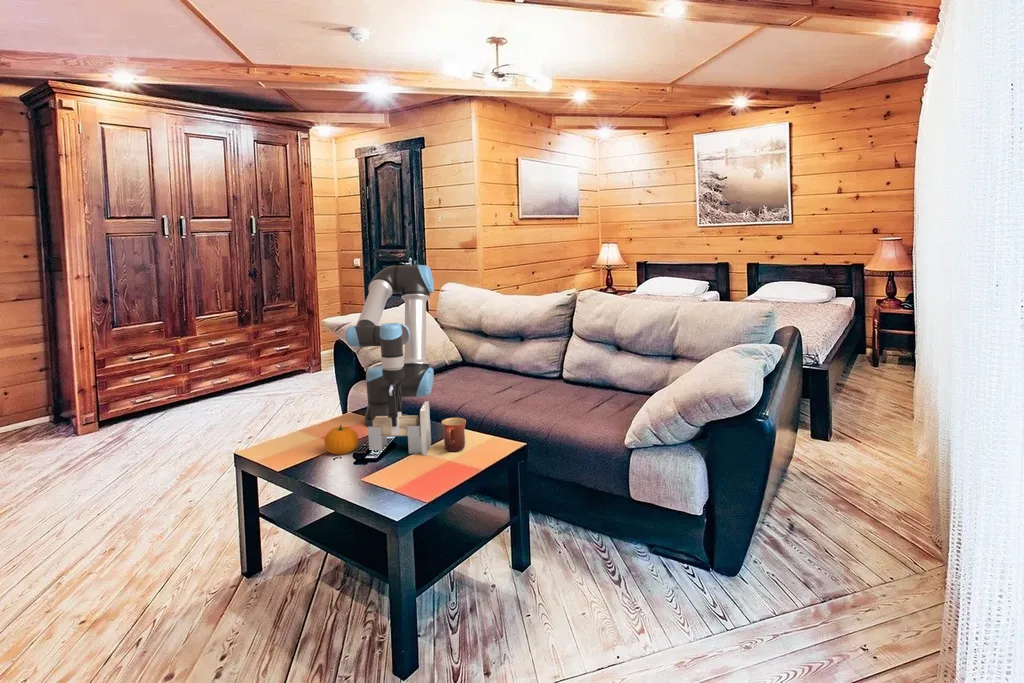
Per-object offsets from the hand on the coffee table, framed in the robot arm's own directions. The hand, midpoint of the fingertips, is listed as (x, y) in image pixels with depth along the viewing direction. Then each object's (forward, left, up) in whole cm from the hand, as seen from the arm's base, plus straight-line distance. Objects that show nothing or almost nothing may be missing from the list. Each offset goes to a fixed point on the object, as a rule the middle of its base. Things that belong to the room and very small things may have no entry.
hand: (396, 432), depth 218 cm
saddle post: (0, -7, -7) cm, 10 cm away
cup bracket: (0, +7, -7) cm, 10 cm away
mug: (+2, +20, -7) cm, 21 cm away
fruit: (0, -20, -7) cm, 21 cm away
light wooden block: (0, 0, -1) cm, 1 cm away
